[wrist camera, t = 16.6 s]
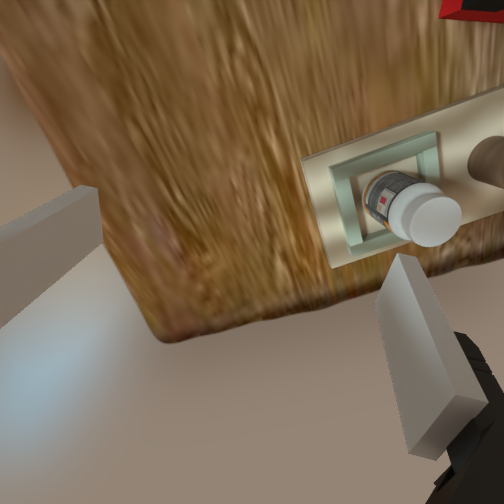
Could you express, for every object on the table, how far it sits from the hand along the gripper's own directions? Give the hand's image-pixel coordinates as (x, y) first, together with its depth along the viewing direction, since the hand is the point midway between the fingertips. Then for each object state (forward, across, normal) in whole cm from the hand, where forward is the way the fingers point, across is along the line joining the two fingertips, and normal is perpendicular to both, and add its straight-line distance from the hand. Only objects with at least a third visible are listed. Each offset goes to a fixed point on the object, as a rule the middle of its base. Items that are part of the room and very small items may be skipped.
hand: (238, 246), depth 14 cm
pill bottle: (+25, +12, -4) cm, 29 cm away
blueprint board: (+28, +16, -2) cm, 33 cm away
